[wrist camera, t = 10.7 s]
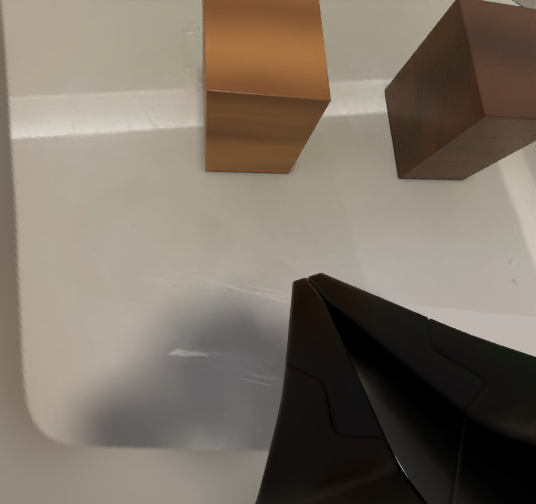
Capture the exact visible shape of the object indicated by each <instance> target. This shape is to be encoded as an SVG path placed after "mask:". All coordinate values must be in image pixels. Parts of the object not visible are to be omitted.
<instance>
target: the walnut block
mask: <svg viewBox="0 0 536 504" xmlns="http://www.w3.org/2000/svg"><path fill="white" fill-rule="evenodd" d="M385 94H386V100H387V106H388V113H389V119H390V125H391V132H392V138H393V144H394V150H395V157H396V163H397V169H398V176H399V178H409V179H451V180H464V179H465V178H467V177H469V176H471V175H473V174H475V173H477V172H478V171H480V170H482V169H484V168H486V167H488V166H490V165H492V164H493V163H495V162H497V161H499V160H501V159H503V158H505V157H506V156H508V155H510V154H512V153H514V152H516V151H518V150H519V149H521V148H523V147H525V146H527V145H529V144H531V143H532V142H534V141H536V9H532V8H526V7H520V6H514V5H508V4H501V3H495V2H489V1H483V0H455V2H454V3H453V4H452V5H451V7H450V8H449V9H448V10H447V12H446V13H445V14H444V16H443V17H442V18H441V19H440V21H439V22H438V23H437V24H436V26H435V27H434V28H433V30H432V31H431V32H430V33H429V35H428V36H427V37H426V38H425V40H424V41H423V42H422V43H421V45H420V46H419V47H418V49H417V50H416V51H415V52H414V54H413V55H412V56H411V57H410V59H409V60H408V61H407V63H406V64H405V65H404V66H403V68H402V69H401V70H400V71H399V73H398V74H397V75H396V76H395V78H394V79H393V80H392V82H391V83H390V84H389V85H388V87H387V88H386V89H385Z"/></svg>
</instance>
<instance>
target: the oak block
mask: <svg viewBox="0 0 536 504" xmlns="http://www.w3.org/2000/svg"><path fill="white" fill-rule="evenodd" d="M202 8H203V90H204V126H205V162H206V171H228V172H264V173H289V172H290V170H291V169H292V167H293V165H294V163H295V162H296V160H297V158H298V157H299V155H300V153H301V151H302V150H303V148H304V146H305V144H306V143H307V141H308V139H309V137H310V136H311V134H312V132H313V130H314V129H315V127H316V125H317V123H318V122H319V120H320V118H321V117H322V115H323V113H324V111H325V110H326V108H327V106H328V104H329V103H330V101H331V98H330V90H329V81H328V73H327V64H326V56H325V47H324V39H323V30H322V22H321V13H320V5H319V0H202Z"/></svg>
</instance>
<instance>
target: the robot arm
mask: <svg viewBox="0 0 536 504" xmlns="http://www.w3.org/2000/svg"><path fill="white" fill-rule="evenodd" d="M285 366H286V367H285V373H284V382H283V390H282V397H281V403H280V408H279V413H278V417H277V422H276V426H275V430H274V434H273V438H272V442H271V446H270V450H269V455H268V459H267V463H266V467H265V471H264V475H263V479H262V483H261V487H260V490H259V494H258V497H257V500H256V503H255V504H536V357H534V356H531V355H528V354H525V353H522V352H519V351H516V350H513V349H510V348H507V347H504V346H501V345H498V344H496V343H493V342H490V341H487V340H484V339H481V338H478V337H476V336H473V335H470V334H468V333H465V332H462V331H460V330H457V329H455V328H452V327H450V326H447V325H445V324H442V323H440V322H438V321H435V320H433V319H429V320H428V318H427V317H425V316H423V315H421V314H418V313H416V312H413V311H411V310H409V309H406V308H404V307H402V306H399V305H397V304H394V303H392V302H390V301H387V300H385V299H383V298H380V297H378V296H375V295H373V294H371V293H368V292H366V291H363V290H361V289H359V288H356V287H354V286H352V285H349V284H347V283H344V282H342V281H340V280H337V279H335V278H332V277H330V276H328V275H325V274H323V273H319V274H316V275H313V276H309V277H308V279H307V278H303V279H300V280H296V281H294V282H293V286H292V297H291V308H290V319H289V330H288V341H287V353H286V364H285ZM395 456H396V457H395ZM396 458H397V459H396ZM397 460H398V461H399V463H400V465H401V466H402V468H403V470H404V471H405V473H406V474H405V473H404V471H403V470H402V468H401V467H400V465H399V463H398V461H397ZM406 475H407V476H408V477H407V476H406Z"/></svg>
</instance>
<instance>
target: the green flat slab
mask: <svg viewBox="0 0 536 504" xmlns="http://www.w3.org/2000/svg"><path fill="white" fill-rule="evenodd" d="M514 1H515V2H517V3H518V4H520V5H521V6H523V7H526V8H532V9H536V0H514Z"/></svg>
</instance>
